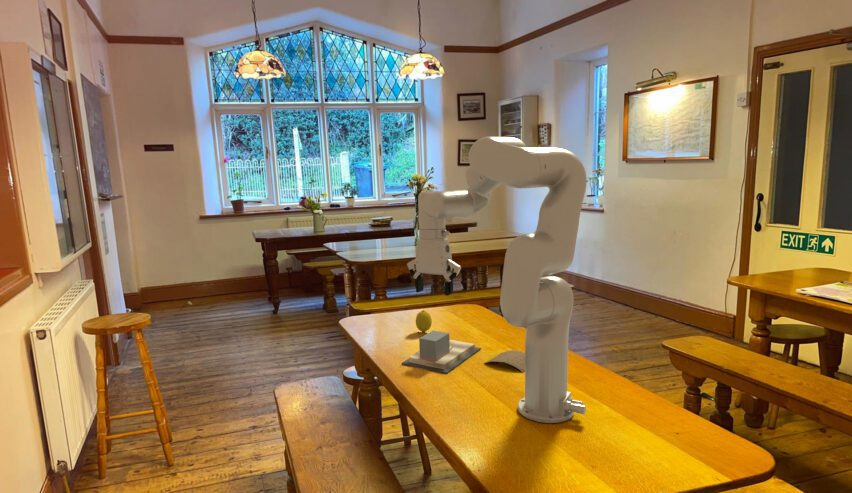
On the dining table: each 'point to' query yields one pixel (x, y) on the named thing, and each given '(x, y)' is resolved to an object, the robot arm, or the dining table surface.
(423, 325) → the lemon
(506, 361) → the clay tablet
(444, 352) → the block
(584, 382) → the dining table surface
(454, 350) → the board
